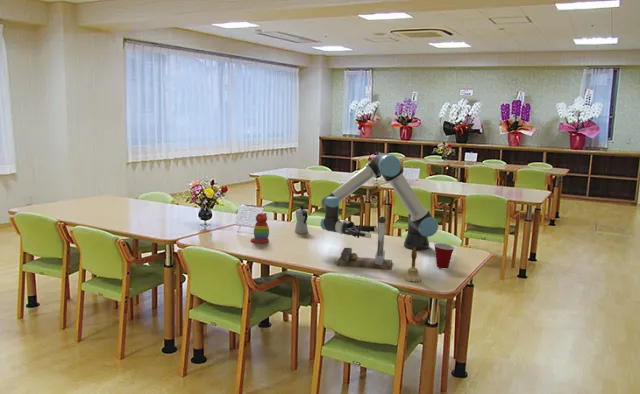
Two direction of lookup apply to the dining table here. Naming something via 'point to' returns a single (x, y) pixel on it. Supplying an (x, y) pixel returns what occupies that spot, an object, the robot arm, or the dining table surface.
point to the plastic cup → (443, 254)
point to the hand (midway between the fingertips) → (378, 233)
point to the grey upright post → (380, 242)
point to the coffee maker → (301, 221)
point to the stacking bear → (261, 229)
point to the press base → (360, 261)
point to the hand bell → (413, 269)
